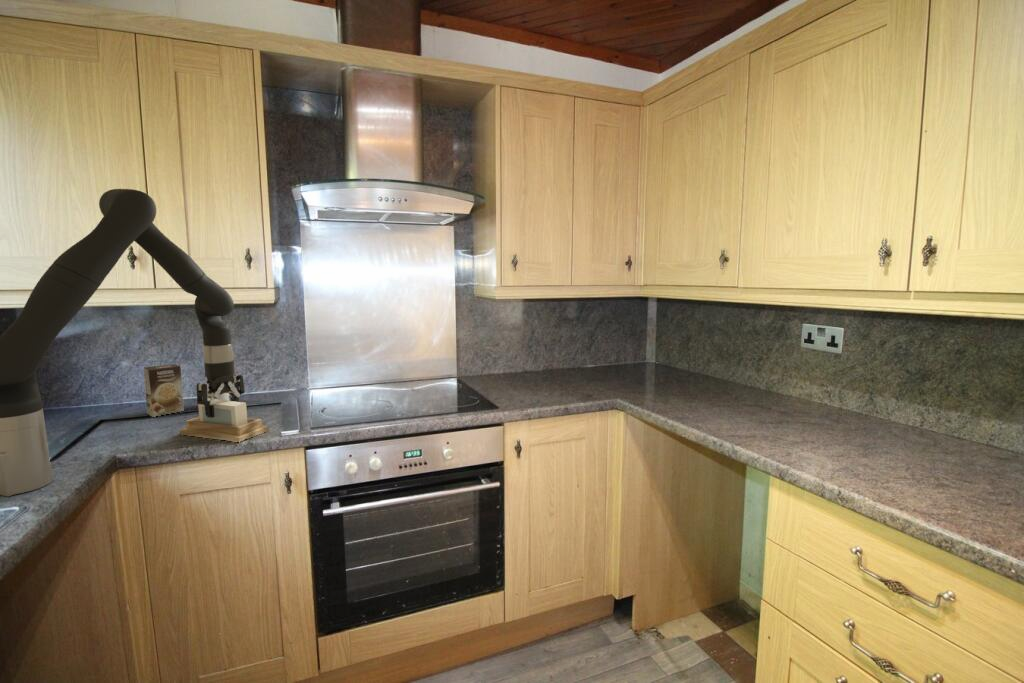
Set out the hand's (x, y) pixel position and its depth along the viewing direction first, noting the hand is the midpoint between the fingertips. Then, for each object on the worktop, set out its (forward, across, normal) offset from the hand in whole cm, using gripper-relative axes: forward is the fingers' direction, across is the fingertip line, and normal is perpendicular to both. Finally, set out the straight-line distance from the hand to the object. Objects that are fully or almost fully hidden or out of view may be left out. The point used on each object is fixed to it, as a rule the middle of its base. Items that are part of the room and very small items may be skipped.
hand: (223, 413), depth 145 cm
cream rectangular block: (+5, 0, 0) cm, 5 cm away
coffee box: (+6, +10, +36) cm, 38 cm away
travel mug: (+6, +23, +27) cm, 36 cm away
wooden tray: (+6, 0, 0) cm, 6 cm away
